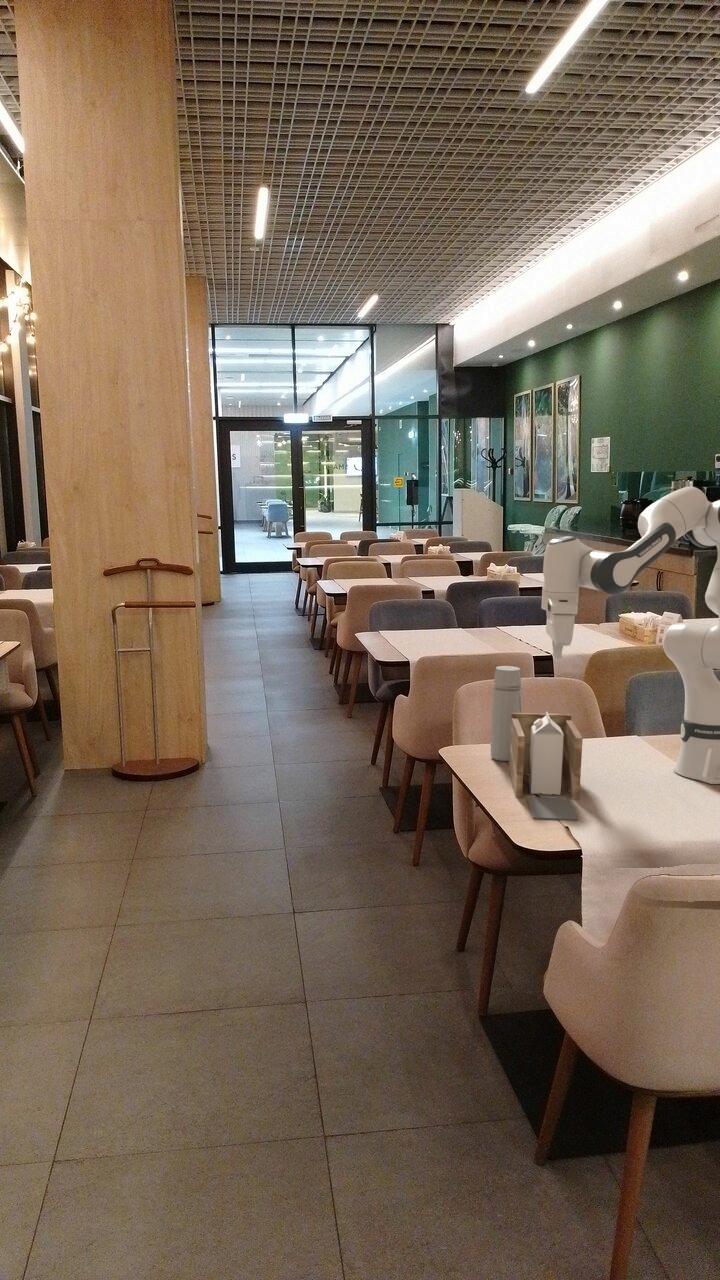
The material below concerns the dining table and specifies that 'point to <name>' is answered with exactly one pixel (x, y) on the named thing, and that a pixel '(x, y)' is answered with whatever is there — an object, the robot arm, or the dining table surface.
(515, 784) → the shelf bay
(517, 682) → the water bottle
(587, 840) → the dining table surface
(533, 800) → the mat
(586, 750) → the dining table surface
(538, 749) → the milk carton
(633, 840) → the dining table surface
